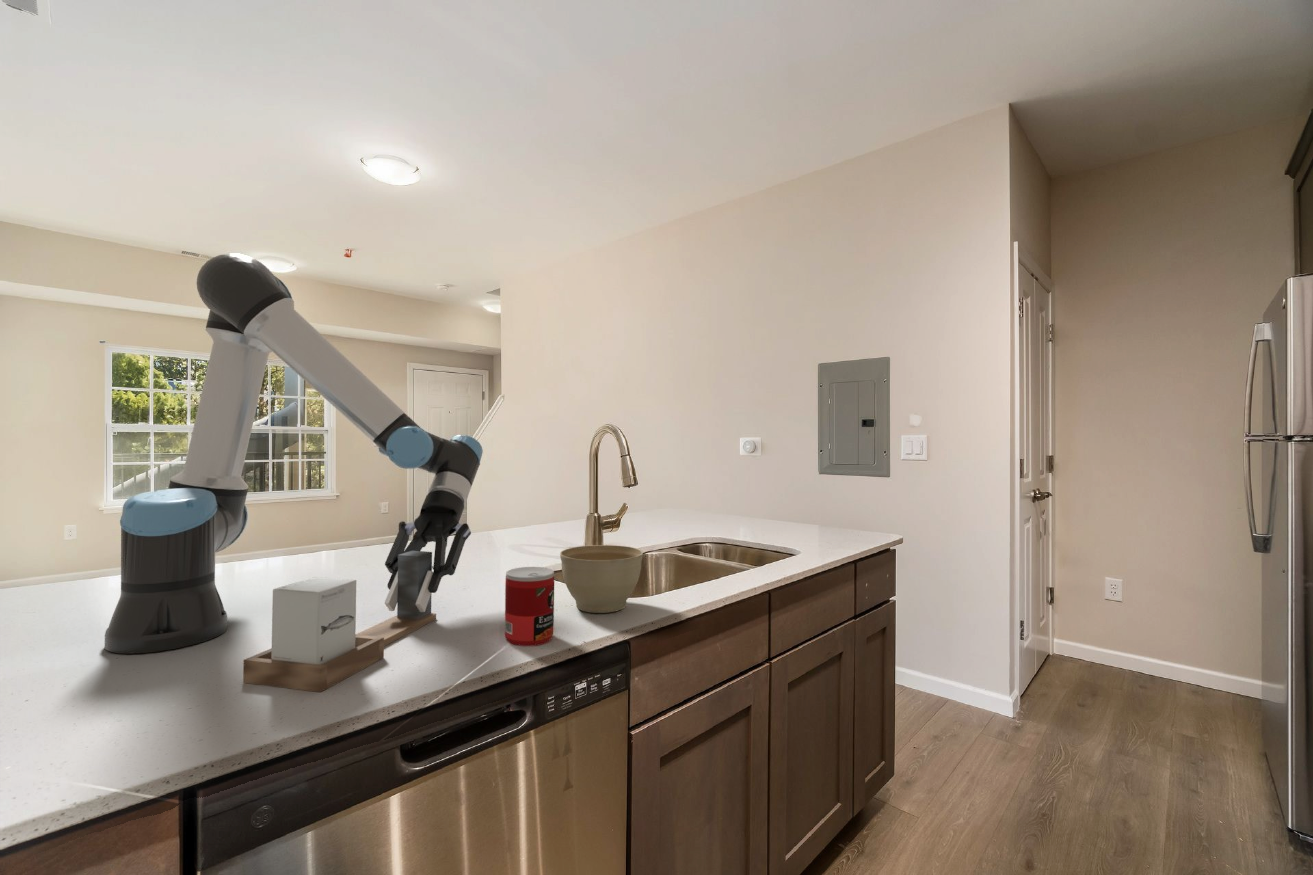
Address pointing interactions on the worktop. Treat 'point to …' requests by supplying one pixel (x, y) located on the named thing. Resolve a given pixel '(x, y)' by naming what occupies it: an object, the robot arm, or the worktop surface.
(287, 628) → the supplement box
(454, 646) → the worktop surface
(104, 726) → the worktop surface
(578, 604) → the planter bowl
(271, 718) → the worktop surface
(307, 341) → the robot arm
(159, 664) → the worktop surface
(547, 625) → the canned food
